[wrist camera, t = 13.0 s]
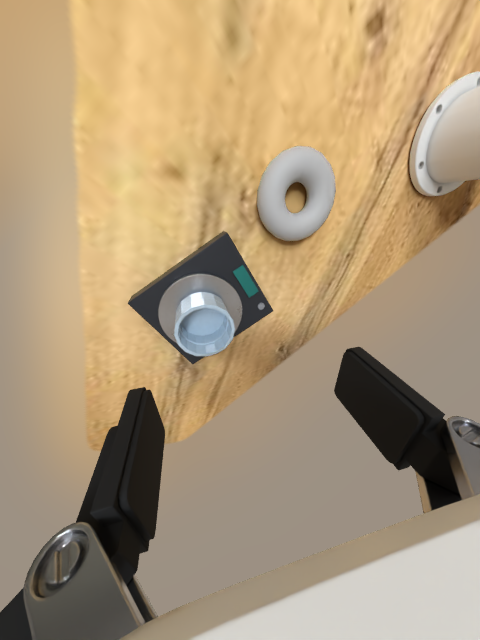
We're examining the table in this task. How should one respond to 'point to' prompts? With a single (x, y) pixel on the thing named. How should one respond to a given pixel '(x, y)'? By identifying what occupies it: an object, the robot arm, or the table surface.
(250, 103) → the table surface
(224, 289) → the scale pan
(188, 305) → the light blue cup
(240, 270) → the scale
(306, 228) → the donut
